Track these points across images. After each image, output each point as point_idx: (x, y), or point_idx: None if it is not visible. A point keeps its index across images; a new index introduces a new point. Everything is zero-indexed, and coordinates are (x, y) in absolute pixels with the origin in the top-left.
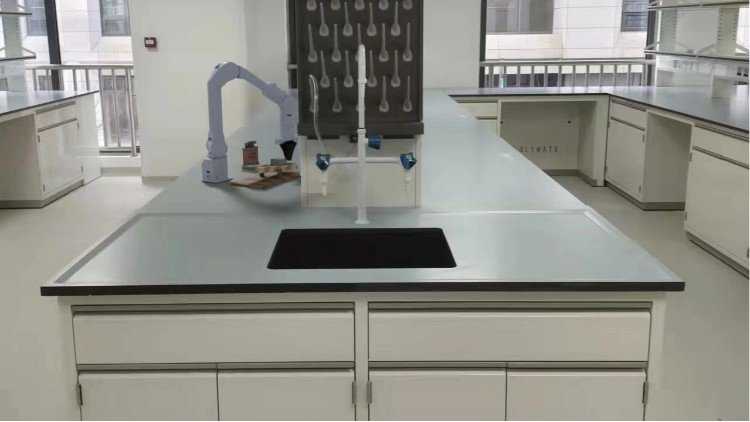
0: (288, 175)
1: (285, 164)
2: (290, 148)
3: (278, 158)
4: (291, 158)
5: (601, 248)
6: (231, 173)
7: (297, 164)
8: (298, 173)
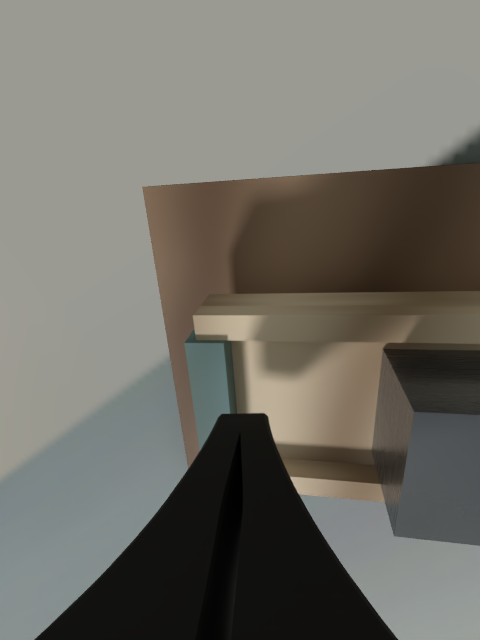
0: (404, 263)
1: (421, 363)
2: (329, 602)
3: (472, 508)
4: (227, 426)
5: None
6: (417, 627)
7: (203, 313)
8: (263, 237)
